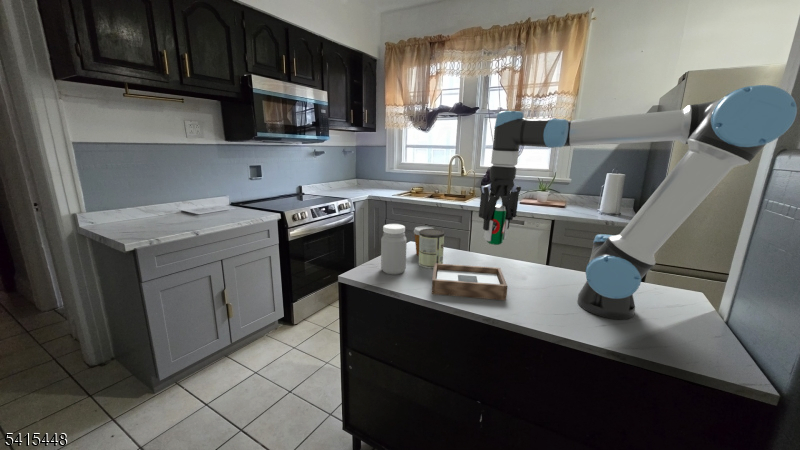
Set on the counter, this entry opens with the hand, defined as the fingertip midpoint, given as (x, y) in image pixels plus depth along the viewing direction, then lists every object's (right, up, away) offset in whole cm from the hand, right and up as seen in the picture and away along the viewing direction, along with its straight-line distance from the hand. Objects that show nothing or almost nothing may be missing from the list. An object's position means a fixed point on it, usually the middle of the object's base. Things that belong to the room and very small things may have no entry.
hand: (494, 239), depth 103 cm
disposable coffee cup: (-20, -9, +44) cm, 49 cm away
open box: (-7, -17, +11) cm, 21 cm away
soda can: (0, -1, 0) cm, 1 cm away
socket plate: (-7, -17, +11) cm, 21 cm away
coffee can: (-17, -12, +32) cm, 38 cm away
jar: (-33, -14, +24) cm, 43 cm away
